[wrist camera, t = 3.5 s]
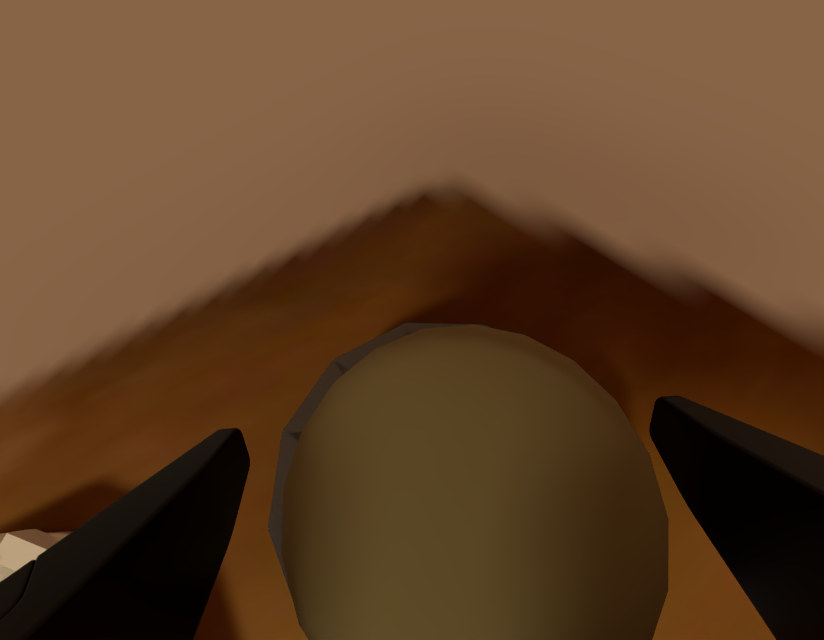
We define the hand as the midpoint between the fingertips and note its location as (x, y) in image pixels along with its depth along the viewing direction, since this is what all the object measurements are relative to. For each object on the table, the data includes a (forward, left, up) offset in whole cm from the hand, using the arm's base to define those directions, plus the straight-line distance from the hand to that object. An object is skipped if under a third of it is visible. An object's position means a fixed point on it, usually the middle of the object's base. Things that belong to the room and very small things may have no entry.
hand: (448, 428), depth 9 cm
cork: (-1, 0, -7) cm, 7 cm away
